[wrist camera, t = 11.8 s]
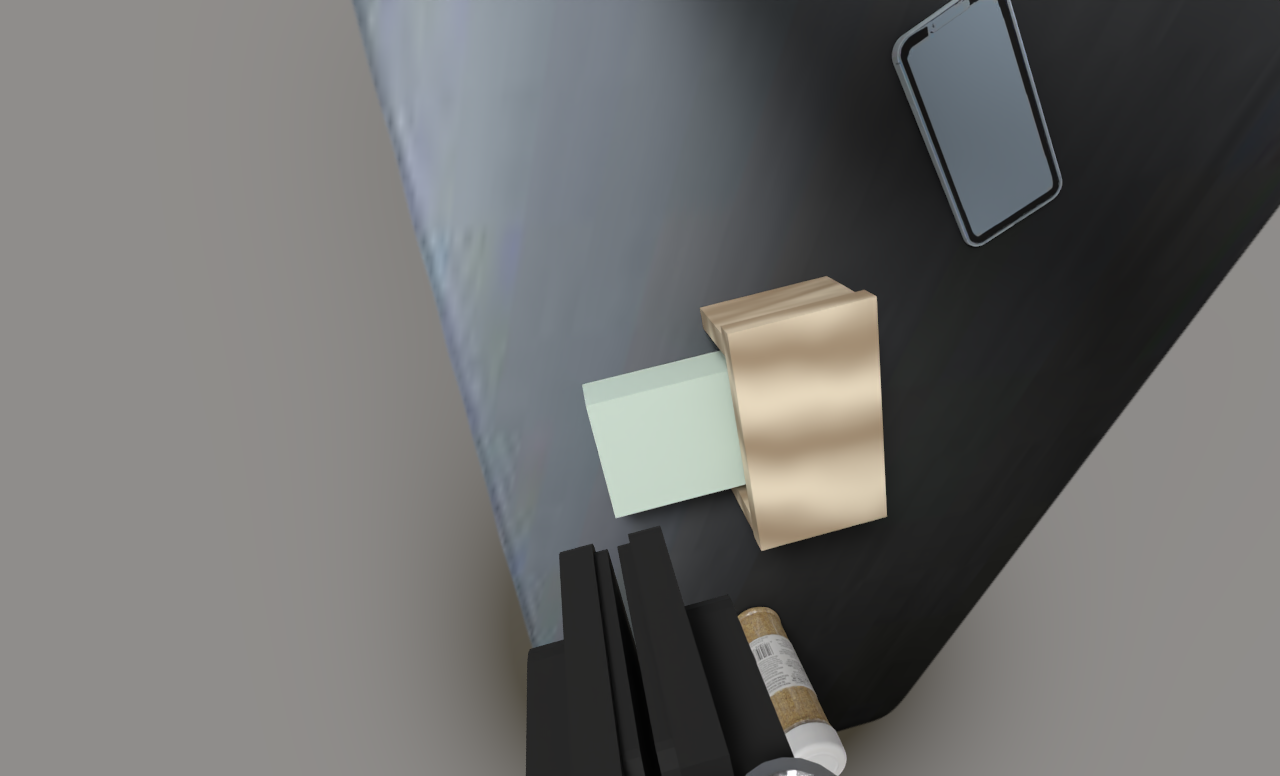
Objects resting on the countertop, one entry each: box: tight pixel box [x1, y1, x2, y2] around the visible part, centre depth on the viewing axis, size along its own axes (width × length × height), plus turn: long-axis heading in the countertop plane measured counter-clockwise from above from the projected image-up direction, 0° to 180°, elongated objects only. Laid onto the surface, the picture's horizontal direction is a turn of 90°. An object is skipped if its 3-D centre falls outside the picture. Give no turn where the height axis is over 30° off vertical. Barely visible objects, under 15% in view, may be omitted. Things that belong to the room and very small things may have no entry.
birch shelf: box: [700, 276, 887, 551], centre depth 43 cm, size 16×9×7 cm, turn 12°
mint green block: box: [582, 350, 746, 518], centre depth 44 cm, size 9×16×4 cm, turn 102°
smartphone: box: [892, 0, 1062, 246], centre depth 40 cm, size 7×1×15 cm
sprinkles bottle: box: [738, 607, 847, 776], centre depth 49 cm, size 5×5×13 cm
